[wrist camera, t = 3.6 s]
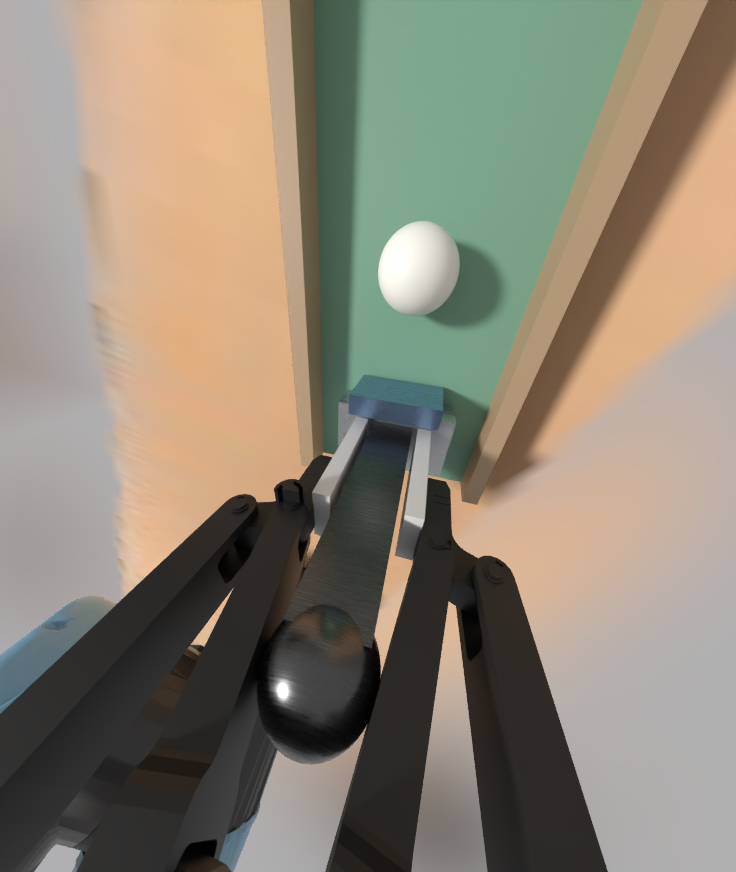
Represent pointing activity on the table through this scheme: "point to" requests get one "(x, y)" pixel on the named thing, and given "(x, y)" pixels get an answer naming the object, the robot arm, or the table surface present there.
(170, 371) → the table surface
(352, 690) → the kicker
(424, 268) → the ball
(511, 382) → the pitch
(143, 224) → the table surface
